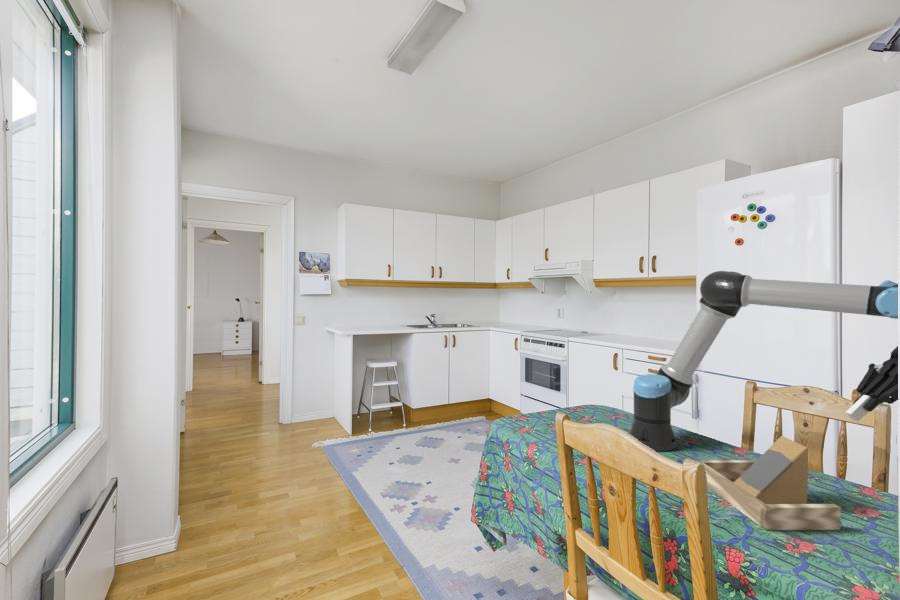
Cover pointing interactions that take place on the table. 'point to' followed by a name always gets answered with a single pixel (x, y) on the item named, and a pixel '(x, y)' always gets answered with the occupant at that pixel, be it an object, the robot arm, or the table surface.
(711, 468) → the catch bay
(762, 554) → the table surface
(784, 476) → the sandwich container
